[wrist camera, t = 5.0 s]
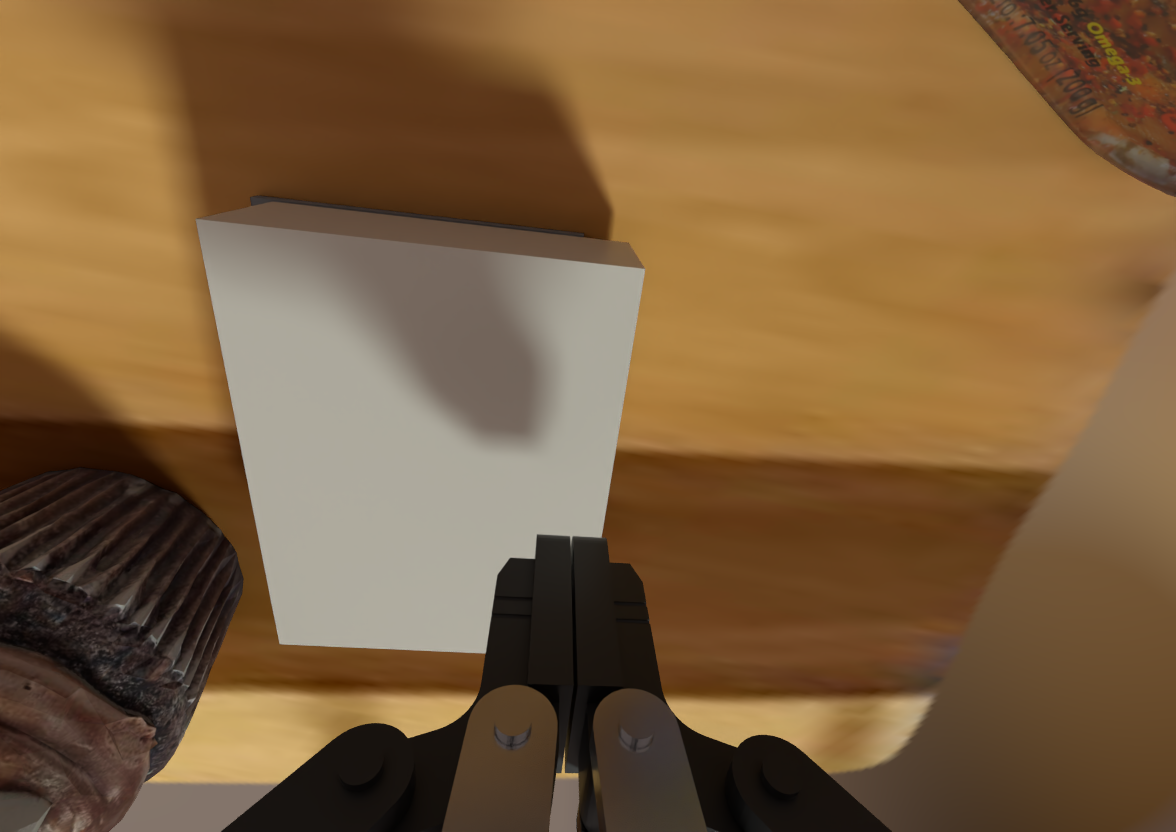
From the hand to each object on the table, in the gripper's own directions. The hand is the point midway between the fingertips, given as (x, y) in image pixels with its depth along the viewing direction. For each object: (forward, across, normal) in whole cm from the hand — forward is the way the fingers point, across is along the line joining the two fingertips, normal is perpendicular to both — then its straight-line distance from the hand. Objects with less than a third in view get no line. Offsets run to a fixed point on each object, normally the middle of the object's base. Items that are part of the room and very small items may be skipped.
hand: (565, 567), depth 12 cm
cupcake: (+7, +15, +7) cm, 18 cm away
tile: (+4, -1, 0) cm, 4 cm away
